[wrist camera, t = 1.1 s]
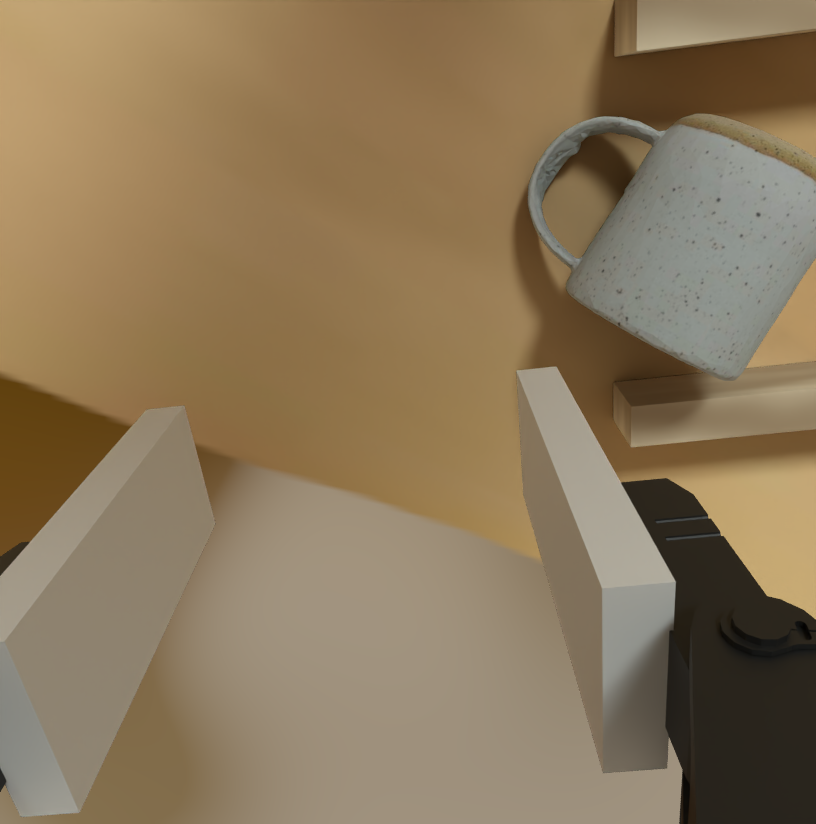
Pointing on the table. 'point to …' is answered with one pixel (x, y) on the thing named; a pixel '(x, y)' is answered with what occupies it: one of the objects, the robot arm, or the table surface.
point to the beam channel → (702, 393)
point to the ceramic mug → (694, 237)
